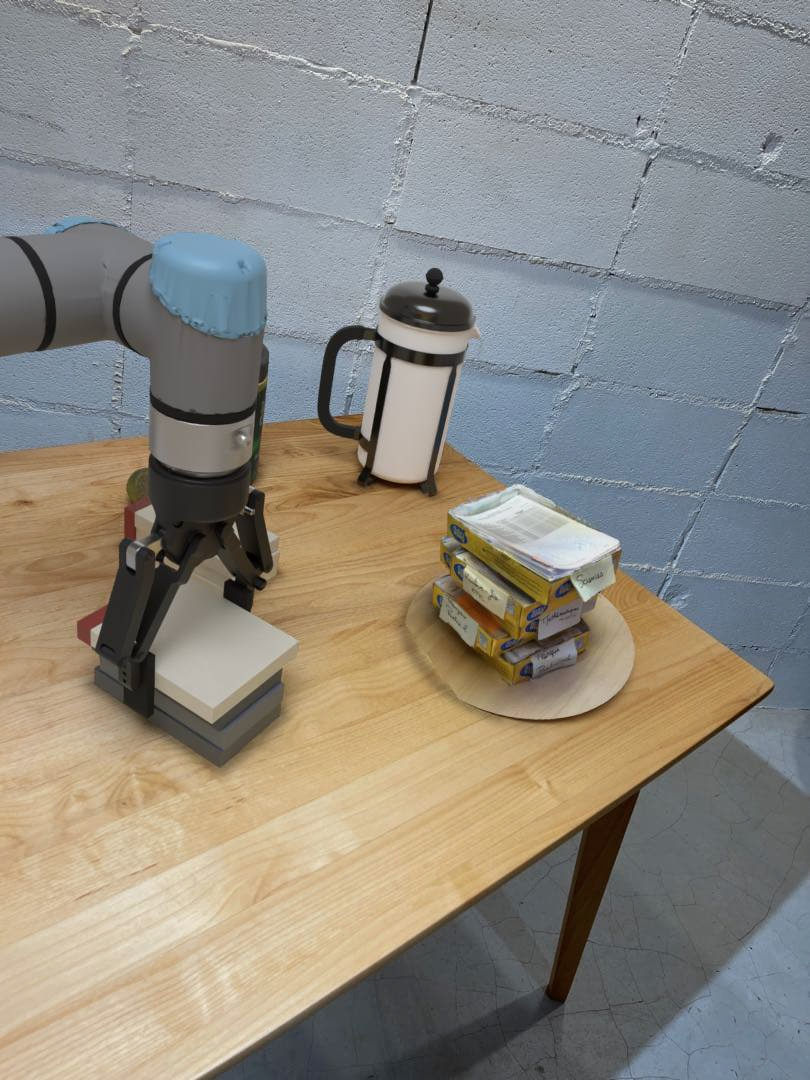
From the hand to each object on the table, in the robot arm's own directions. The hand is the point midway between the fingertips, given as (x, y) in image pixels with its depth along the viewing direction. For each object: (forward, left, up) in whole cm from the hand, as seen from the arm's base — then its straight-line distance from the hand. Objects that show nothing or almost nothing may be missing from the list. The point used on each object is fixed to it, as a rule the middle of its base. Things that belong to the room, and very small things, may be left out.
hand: (189, 673), depth 72 cm
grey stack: (0, 0, -4) cm, 4 cm away
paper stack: (+20, +30, -4) cm, 36 cm away
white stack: (-14, +17, -4) cm, 22 cm away
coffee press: (-11, +52, -4) cm, 53 cm away
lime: (-27, +21, -4) cm, 34 cm away
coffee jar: (-26, +35, -4) cm, 44 cm away
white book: (0, 0, +3) cm, 3 cm away
